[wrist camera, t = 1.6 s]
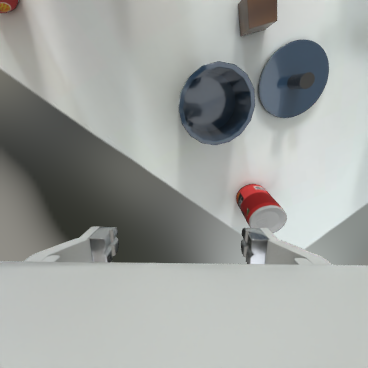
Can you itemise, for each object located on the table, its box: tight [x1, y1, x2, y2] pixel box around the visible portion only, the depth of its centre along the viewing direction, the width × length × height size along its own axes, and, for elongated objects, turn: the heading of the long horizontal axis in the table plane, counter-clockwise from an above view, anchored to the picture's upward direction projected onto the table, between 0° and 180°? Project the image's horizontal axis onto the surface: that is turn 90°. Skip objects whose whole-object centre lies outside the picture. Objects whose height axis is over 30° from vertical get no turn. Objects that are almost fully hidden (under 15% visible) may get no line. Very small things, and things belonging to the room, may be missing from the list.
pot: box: [178, 61, 255, 145], centre depth 34 cm, size 12×12×9 cm
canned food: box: [236, 184, 287, 233], centre depth 44 cm, size 8×8×11 cm
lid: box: [259, 40, 329, 118], centre depth 34 cm, size 13×13×5 cm
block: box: [238, 0, 277, 36], centre depth 30 cm, size 4×4×4 cm
